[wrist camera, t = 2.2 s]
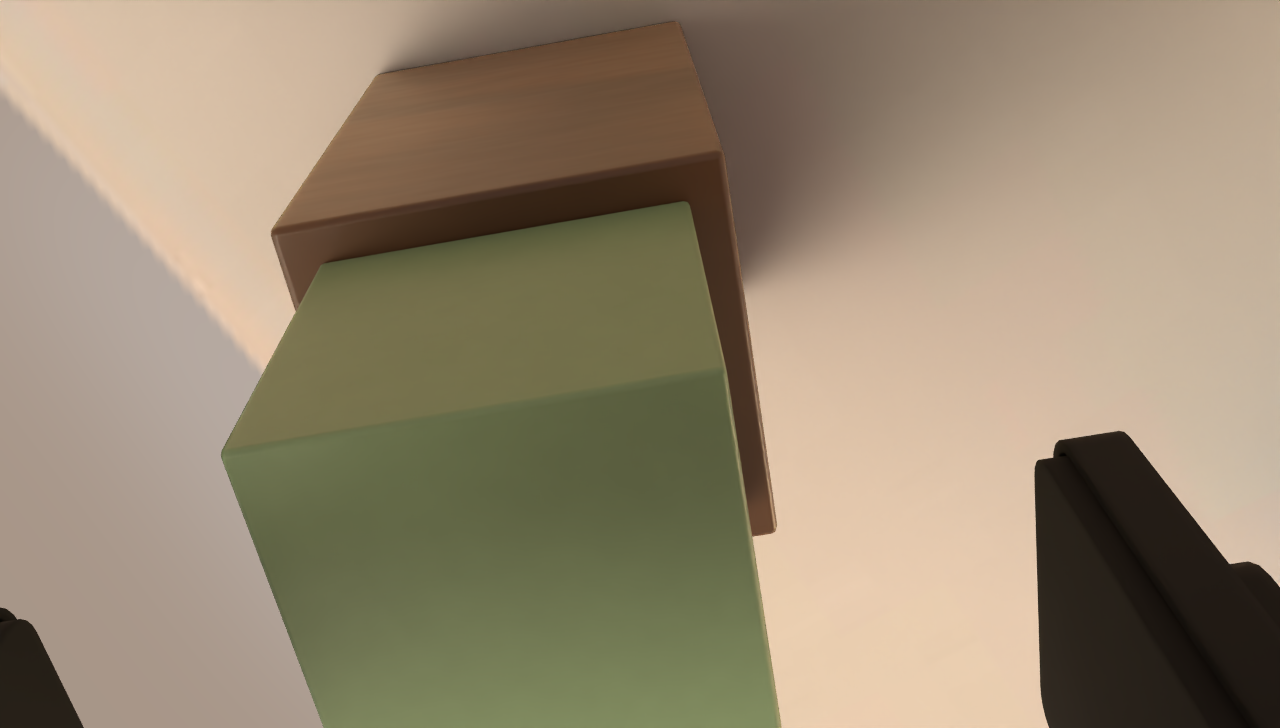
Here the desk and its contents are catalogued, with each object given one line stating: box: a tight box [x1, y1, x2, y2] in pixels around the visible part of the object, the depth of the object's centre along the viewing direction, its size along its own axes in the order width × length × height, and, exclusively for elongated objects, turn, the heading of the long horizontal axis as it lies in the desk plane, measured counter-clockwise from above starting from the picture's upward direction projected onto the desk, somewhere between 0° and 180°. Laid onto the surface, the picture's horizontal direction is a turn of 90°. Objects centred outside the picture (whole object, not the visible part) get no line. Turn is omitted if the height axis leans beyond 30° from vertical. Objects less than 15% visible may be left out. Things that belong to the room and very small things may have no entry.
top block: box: [221, 201, 781, 728], centre depth 13 cm, size 4×4×4 cm
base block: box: [271, 21, 777, 536], centre depth 19 cm, size 6×6×8 cm
